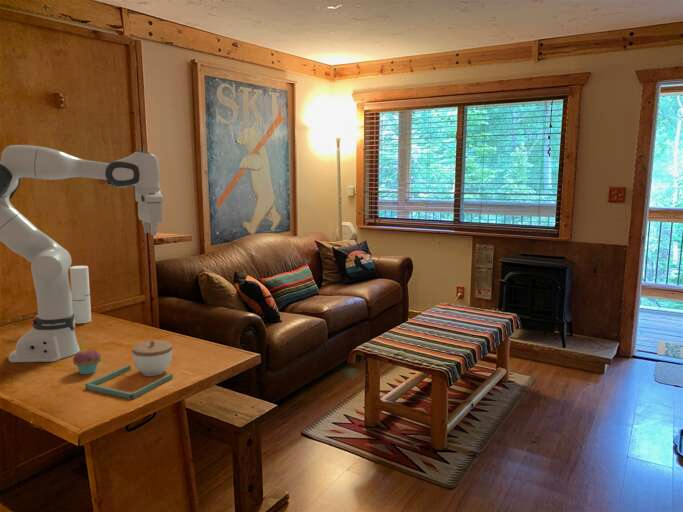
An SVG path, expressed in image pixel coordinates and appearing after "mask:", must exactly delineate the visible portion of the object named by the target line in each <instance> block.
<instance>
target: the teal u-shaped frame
mask: <svg viewBox="0 0 683 512" xmlns="http://www.w3.org/2000/svg"><path fill="white" fill-rule="evenodd" d="M128 370H129V371H130V370H131V365H130V364H128V365H125V366H123V367H121V368H119V369H116V370H114V371H112V372H110V373H107V374H105V375H103V376H101V377H98V378H96V379H94V380H91V381H90V382H87V383H85V384H84V385H85V389H86V390H91V391H93V392H98V393H103V394H106V395H107V394H108V395H112V396H115V397H120V398H123V399H127V400H134V399H136V398H138V397H140V396H141V395H144V394H146V393H147V392H149V391H152V390H154V389H155V388H156V387H159V386H160V384H161V385H162V383H163V384H164V383H166V382H168V381H170V380H172V379H173V375H174V374H173V373H169V374H167V375H165V376H162V377H160V378H159V379H157V380H155V381H153V382H151V383H149V384H147V385H146V386H143V387H142V388H139V389H137V390H135V391H134V392H129V391H128V392H127V391H123V390H120V389H119V390H118V389H113V388H110V387H107V386H101V385H100V384H102V383H104V382H107V381H109V380H111V379H113V378H115V377H118V376H119V374H120V375H122V374H124V373H126V372H128ZM117 375H118V376H117ZM112 377H113V378H112ZM110 378H111V379H110ZM108 379H109V380H108ZM106 380H107V381H106ZM143 393H144V394H143Z"/></svg>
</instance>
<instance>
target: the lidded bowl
mask: <svg viewBox="0 0 683 512" xmlns="http://www.w3.org/2000/svg"><path fill="white" fill-rule="evenodd" d="M131 348H132V350H131V352H132V360H133V363H134V365H135V368H136V369H137V371H139V372H140V373H142V375H143V376H145V377H157V376H160V375H163V374H164V373H165V371H166V370H167V369H168V368H169V366H170V364H171V363H172V359H173V357H172V356H173V344H172V343H171V342H170V341H167V340H153V339H152V340H148V341H142V342H139V343H137V344H135V345H134V346H132V347H131Z"/></svg>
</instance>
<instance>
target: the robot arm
mask: <svg viewBox="0 0 683 512" xmlns="http://www.w3.org/2000/svg"><path fill="white" fill-rule="evenodd" d="M160 170H161V169H160V165H159V159H158V157H157V156H156V155H155V154H154V153H151V152H147V151H142V150H141V151H140V150H136V151H135V152H133V153H132V154H130V155H127V157H124V158H120V159H117V160H114V161H112V162H104V161H103V162H102V161H95V160H88V159H83V158H80V157H77V156H74V155H71V154H69V153H66V152H64V151H60V150H57V149H56V148H55V149H54V148H50V147H46V146H39V145H38V146H37V145H31V144H30V145H29V144H13V145H12V144H11V145H7V146H6V147H5V148H4V149H3V151H2V152H1V156H0V242H1V243H3V245H5V246H6V247H7V248H8V249H10V251H12V252H14V253H16V254H17V255H19V256H20V257H23V258H24V259H25V260H26V261H28V262H29V263H31V264H30V272H31V276H32V282H33V286H34V291H35V294H36V302H37V303H36V304H37V305H36V307H37V314H36V315H34V317H33V319H32V320H31V321H32V322H31V326H32V328H31V329H29V330H28V331H27V332H26V333H24V334H23V335H22V336H21V337H20V338H19V339H18V340H17V342H16V345H15V350H13V351H11V352H10V354H9V355H8V362H9V363H39V362H41V363H42V362H43V363H45V362H46V363H48V362H49V363H50V362H56V361H59V360H61V359H64V358H68V357H71V356H75V355H77V354H78V353H80V352H81V347H80V345H79V343H78V340H77V336H76V330H75V329H76V325H75V318H74V314H73V308H72V292H71V284H70V280H69V270H70V267H72V261H73V260H72V257H71V254H70V252H69V251H68V250H67V249H66V248H64V247H63V246H62V245H60V244H59V243H58V242H57V241H55V240H54V239H52V238H51V237H50V236H48V235H47V234H46V233H44V232H43V231H42V230H40V229H39V228H37V226H35V224H33V223H32V222H31V221H30V219H29V220H28V218H27V217H26V216H24V215H23V214H22V213H21V212H20V211H19V210H18V209H17V208H15V207H14V205H12V203H11V202H10V200H11V199H13V196H14V195H15V193H16V192H17V191H18V188H19V186H20V184H21V178H30V179H37V180H38V179H39V180H48V181H49V180H50V181H51V180H53V181H54V180H66V179H71V178H88V179H97V180H103V181H104V180H106V181H107V182H108V183H109V184H111V185H112V186H114V187H116V188H130V187H134V194H135V197H134V199H135V202H137V216H138V220H140V221H142V227H143V232H144V233H146V234H149V233H150V235H151V236H157V231H158V224H161V223H162V221H163V204H162V203H164V196H163V194H162V191H161V184H160V178H161V173H160Z"/></svg>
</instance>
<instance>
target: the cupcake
mask: <svg viewBox="0 0 683 512" xmlns="http://www.w3.org/2000/svg"><path fill="white" fill-rule="evenodd" d="M79 346H80V351H79V352H78V353H76V354H74V355H73V356H74V357H73V358H72V364H73V365H74V366H76V367H77V369H78V371H79V373H80V374H81V375H90V374H93V373H95V372H96V370H97V367H98V364H99V363H100V362H102V355H101V354H100V353H99V352H98V351H95V350H93V349H91V350H90V349H89V350H84V345H83V341H82V340H81V339H79Z"/></svg>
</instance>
